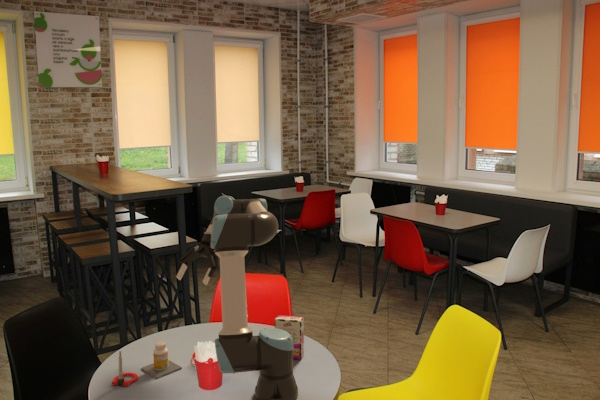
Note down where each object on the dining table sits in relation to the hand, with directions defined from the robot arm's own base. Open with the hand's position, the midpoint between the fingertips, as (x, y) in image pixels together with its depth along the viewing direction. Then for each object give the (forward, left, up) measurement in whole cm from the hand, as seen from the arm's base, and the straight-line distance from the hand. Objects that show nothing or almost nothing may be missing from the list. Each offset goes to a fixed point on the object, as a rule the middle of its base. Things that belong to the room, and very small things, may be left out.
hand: (191, 281), depth 223 cm
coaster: (-5, +19, -30) cm, 36 cm away
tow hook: (-3, +33, -30) cm, 45 cm away
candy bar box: (-33, -23, -30) cm, 51 cm away
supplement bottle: (-5, +19, -29) cm, 35 cm away
